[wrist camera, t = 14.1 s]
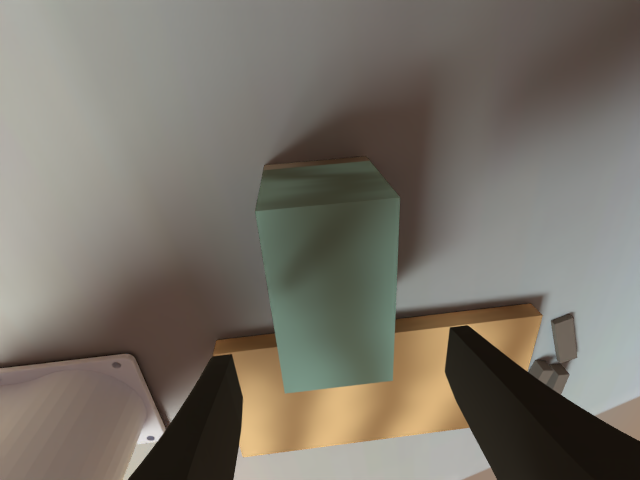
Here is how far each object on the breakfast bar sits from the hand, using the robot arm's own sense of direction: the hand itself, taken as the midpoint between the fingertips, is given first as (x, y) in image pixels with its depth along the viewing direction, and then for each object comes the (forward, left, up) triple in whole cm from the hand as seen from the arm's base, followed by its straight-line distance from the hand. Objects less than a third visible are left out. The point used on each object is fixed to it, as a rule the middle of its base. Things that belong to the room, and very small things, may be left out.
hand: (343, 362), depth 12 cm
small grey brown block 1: (+16, -9, -8) cm, 20 cm away
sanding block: (0, 0, -9) cm, 9 cm away
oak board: (+3, -11, -9) cm, 14 cm away
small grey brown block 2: (+16, -14, -8) cm, 22 cm away
